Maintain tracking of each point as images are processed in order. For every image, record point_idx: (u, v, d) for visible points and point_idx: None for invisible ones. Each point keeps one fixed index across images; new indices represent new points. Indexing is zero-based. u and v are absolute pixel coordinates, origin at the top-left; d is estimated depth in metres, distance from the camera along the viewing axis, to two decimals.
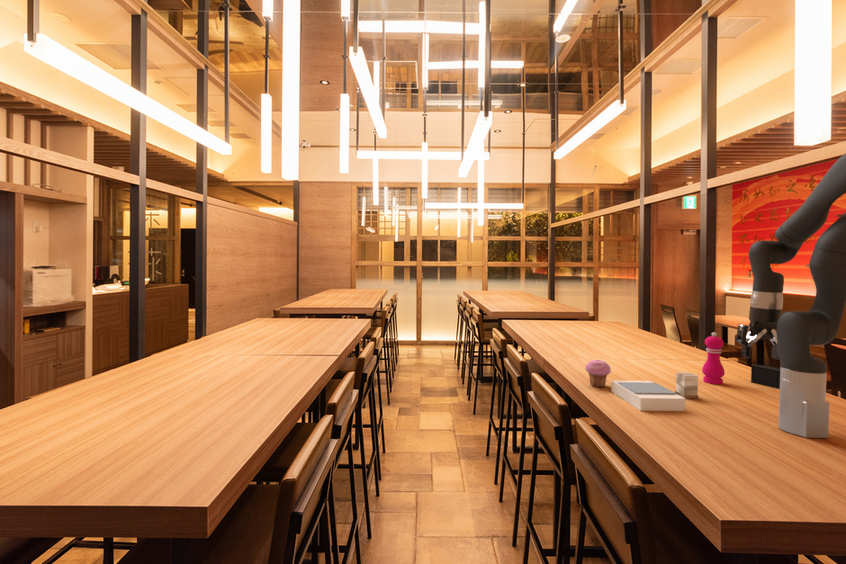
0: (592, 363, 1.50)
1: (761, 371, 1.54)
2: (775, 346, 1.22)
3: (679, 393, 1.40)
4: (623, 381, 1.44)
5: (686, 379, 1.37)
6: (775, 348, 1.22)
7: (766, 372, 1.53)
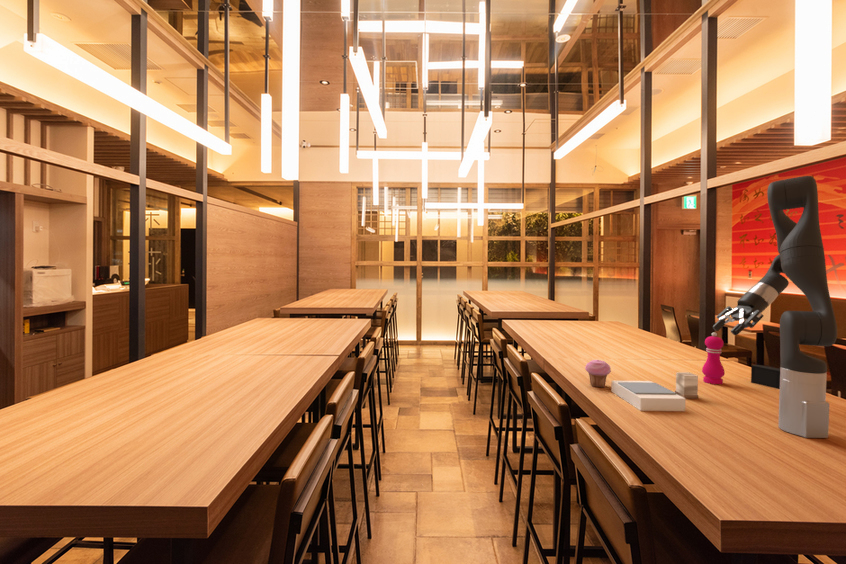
0: (592, 363, 1.50)
1: (761, 372, 1.54)
2: None
3: (679, 393, 1.40)
4: (623, 381, 1.44)
5: (686, 379, 1.37)
6: None
7: (766, 372, 1.53)
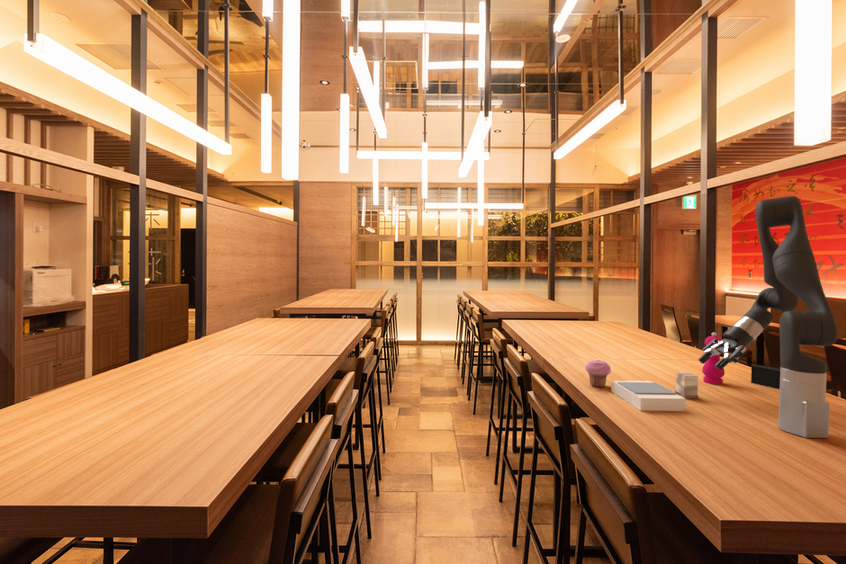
0: (592, 363, 1.50)
1: (761, 372, 1.54)
2: None
3: (679, 393, 1.40)
4: (623, 381, 1.44)
5: (686, 379, 1.37)
6: None
7: (766, 372, 1.52)
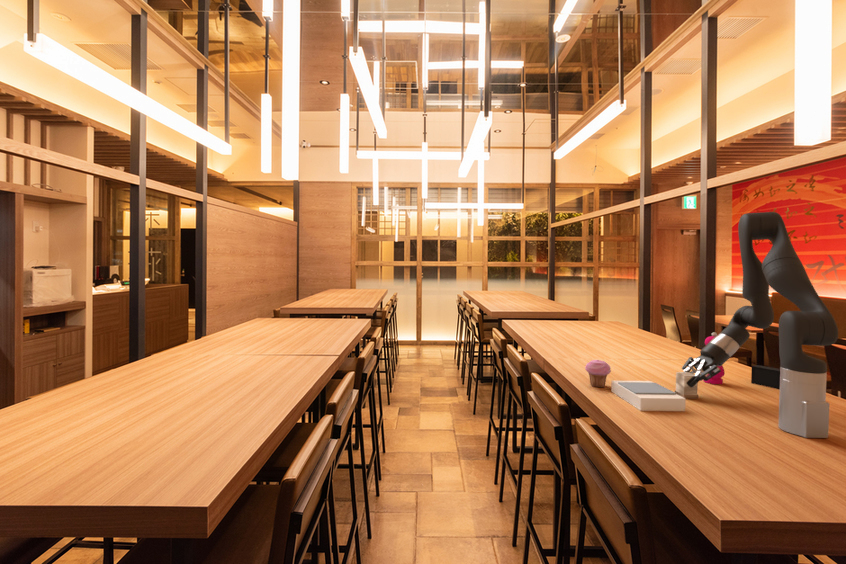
0: (592, 363, 1.50)
1: (762, 372, 1.53)
2: None
3: (679, 393, 1.40)
4: (623, 381, 1.44)
5: (686, 379, 1.37)
6: None
7: (767, 373, 1.52)
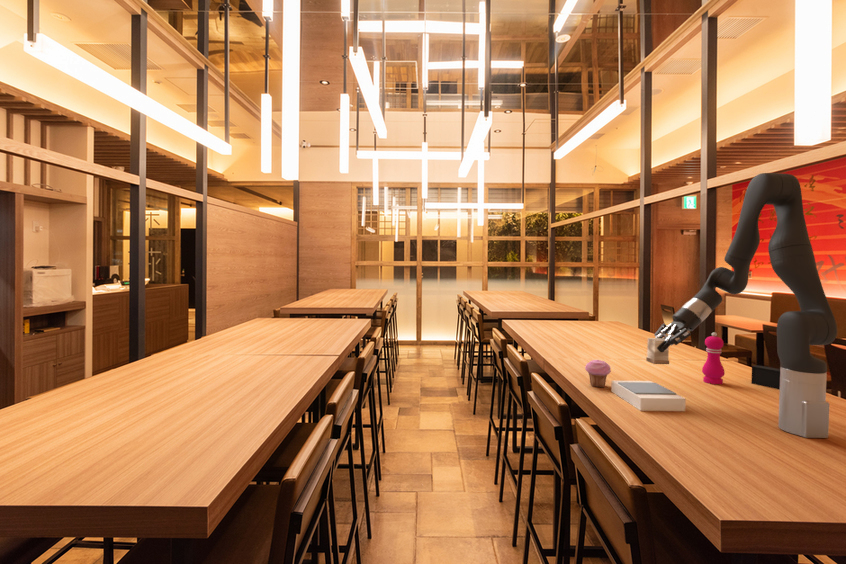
0: (592, 363, 1.50)
1: (762, 372, 1.53)
2: None
3: (650, 359, 1.36)
4: (623, 381, 1.44)
5: (656, 344, 1.34)
6: None
7: (767, 373, 1.52)
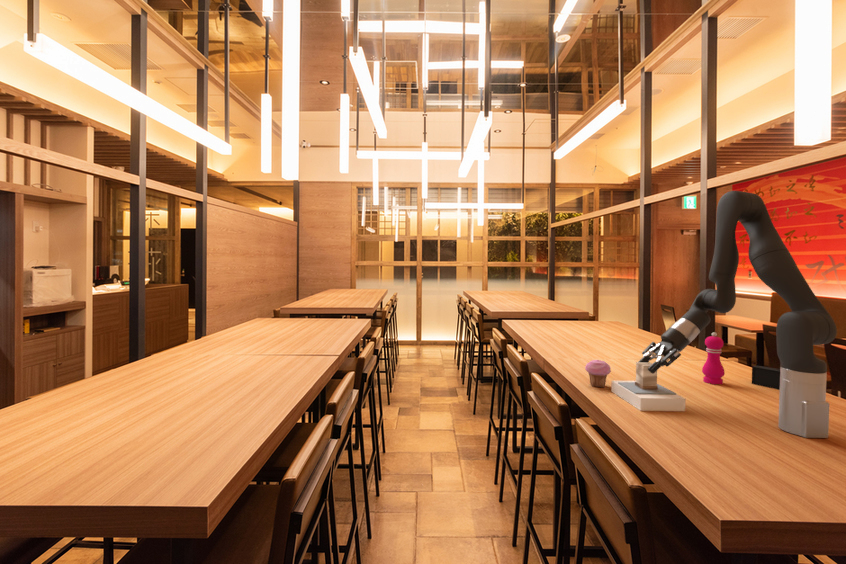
0: (592, 363, 1.50)
1: (763, 373, 1.53)
2: None
3: (638, 384, 1.35)
4: (623, 381, 1.44)
5: (645, 369, 1.32)
6: None
7: (768, 373, 1.51)
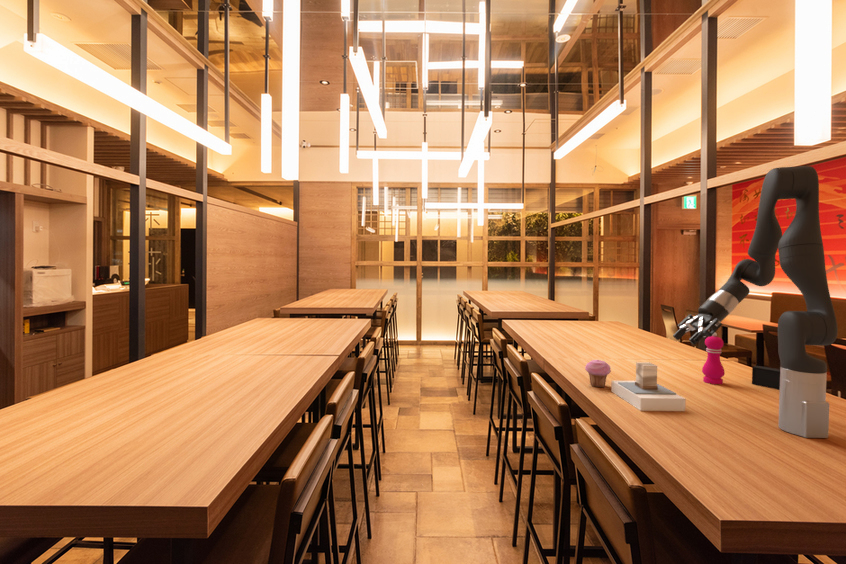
0: (592, 363, 1.50)
1: (763, 373, 1.52)
2: None
3: (638, 384, 1.35)
4: (623, 381, 1.44)
5: (645, 369, 1.32)
6: None
7: (768, 373, 1.51)
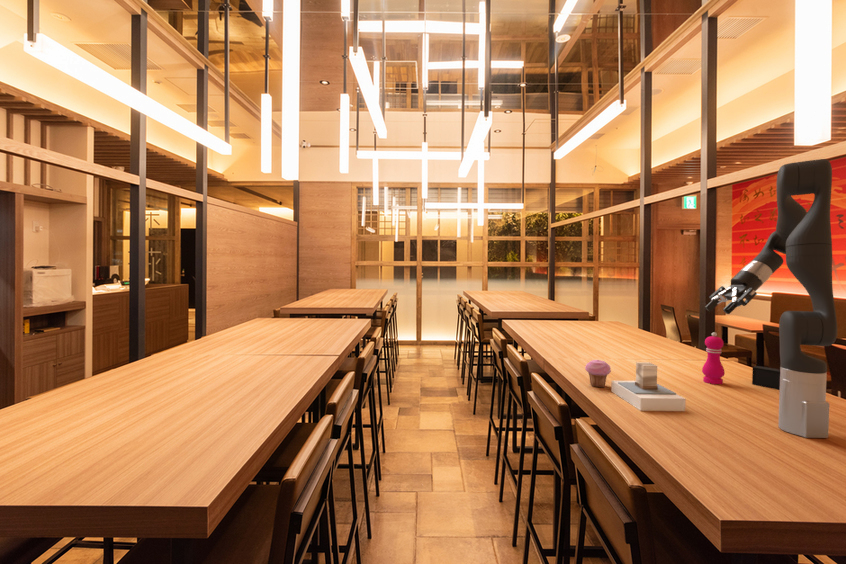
0: (592, 363, 1.50)
1: (763, 373, 1.52)
2: None
3: (638, 384, 1.35)
4: (623, 381, 1.44)
5: (645, 369, 1.32)
6: None
7: (769, 374, 1.51)
